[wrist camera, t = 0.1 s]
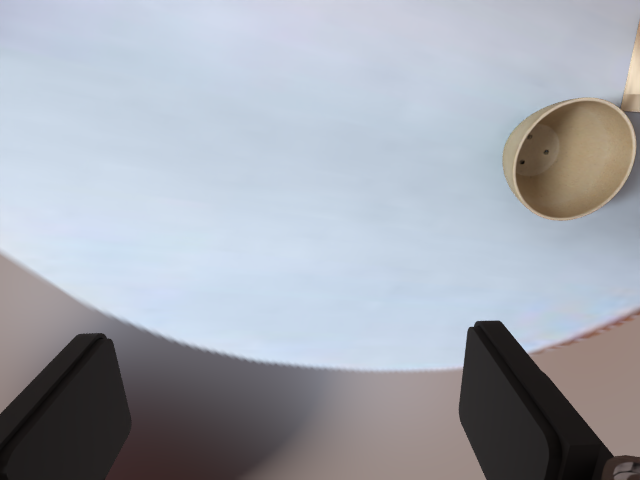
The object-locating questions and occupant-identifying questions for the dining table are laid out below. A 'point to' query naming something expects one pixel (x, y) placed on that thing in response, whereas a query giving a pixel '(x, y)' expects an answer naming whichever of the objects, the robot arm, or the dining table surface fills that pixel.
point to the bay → (633, 80)
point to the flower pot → (570, 157)
